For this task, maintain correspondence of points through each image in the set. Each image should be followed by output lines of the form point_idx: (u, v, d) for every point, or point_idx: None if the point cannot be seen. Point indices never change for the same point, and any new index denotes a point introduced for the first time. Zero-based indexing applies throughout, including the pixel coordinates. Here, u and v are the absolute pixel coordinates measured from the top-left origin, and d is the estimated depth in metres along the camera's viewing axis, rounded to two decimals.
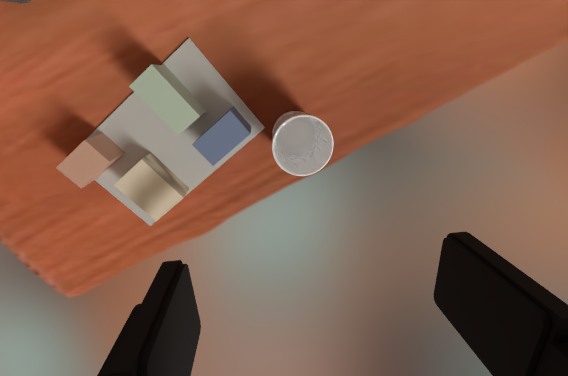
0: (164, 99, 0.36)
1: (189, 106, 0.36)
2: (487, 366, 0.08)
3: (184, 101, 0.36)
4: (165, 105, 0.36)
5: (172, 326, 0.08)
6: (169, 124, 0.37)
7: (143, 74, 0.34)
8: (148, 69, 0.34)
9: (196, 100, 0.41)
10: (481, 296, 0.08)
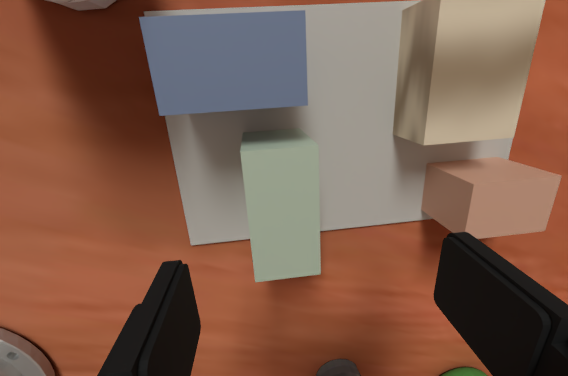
0: (283, 223, 0.16)
1: (246, 183, 0.15)
2: (487, 366, 0.08)
3: (248, 197, 0.15)
4: (290, 212, 0.16)
5: (172, 326, 0.08)
6: (314, 177, 0.15)
7: (281, 276, 0.17)
8: (267, 278, 0.17)
9: None
10: (481, 296, 0.08)
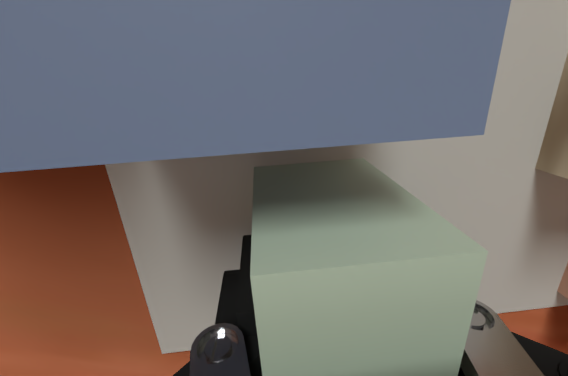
0: None
1: (267, 349, 0.05)
2: None
3: None
4: None
5: None
6: (456, 329, 0.05)
7: None
8: None
9: None
10: None
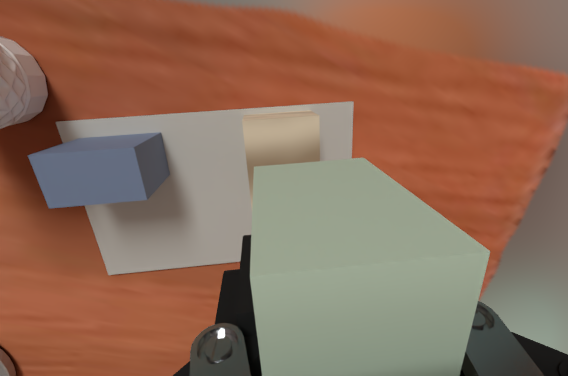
0: None
1: (267, 350, 0.05)
2: None
3: None
4: None
5: None
6: (458, 330, 0.05)
7: None
8: None
9: None
10: None
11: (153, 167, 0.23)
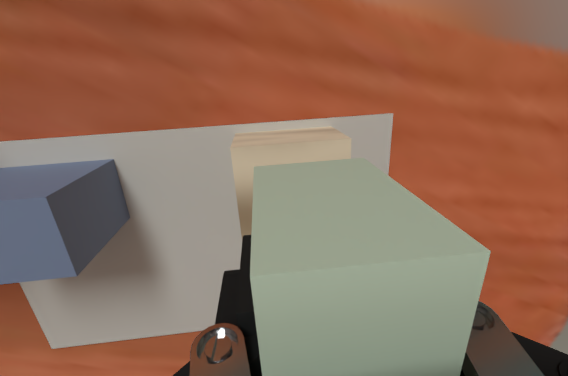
0: None
1: (267, 350, 0.05)
2: None
3: None
4: None
5: None
6: (458, 330, 0.05)
7: None
8: None
9: None
10: None
11: (93, 217, 0.15)
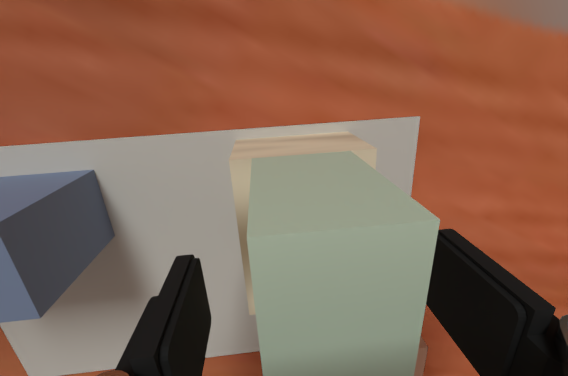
0: (337, 374, 0.07)
1: (260, 302, 0.06)
2: (469, 359, 0.09)
3: (265, 330, 0.07)
4: (354, 354, 0.07)
5: (188, 316, 0.08)
6: (418, 287, 0.06)
7: None
8: None
9: None
10: (463, 291, 0.09)
11: (65, 241, 0.12)
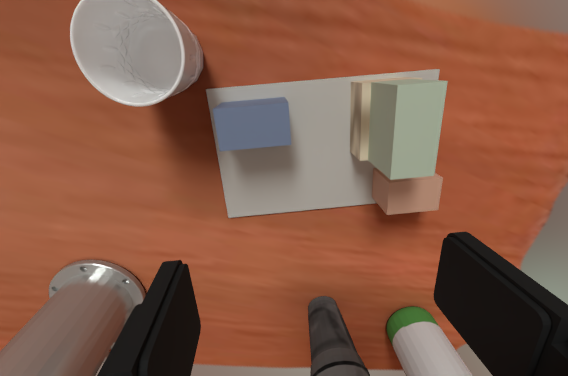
0: (415, 136, 0.24)
1: (397, 107, 0.23)
2: (487, 366, 0.08)
3: (397, 117, 0.23)
4: (421, 128, 0.24)
5: (172, 326, 0.08)
6: (441, 103, 0.23)
7: (408, 176, 0.25)
8: (398, 177, 0.25)
9: (372, 104, 0.28)
10: (481, 296, 0.08)
11: None
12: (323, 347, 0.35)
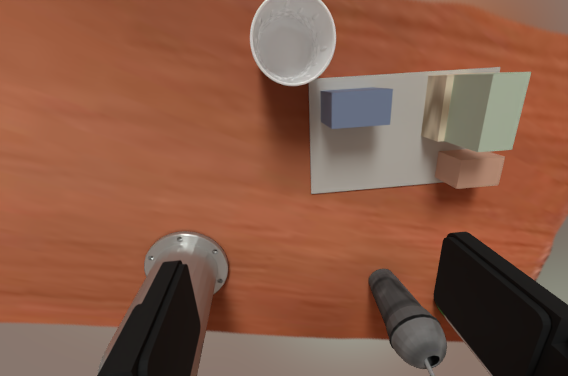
0: (501, 116, 0.30)
1: (491, 91, 0.29)
2: (487, 366, 0.08)
3: (489, 100, 0.29)
4: (507, 110, 0.30)
5: (172, 326, 0.08)
6: (524, 90, 0.29)
7: (491, 149, 0.31)
8: (484, 150, 0.31)
9: (455, 92, 0.34)
10: (481, 296, 0.08)
11: None
12: (397, 306, 0.40)
